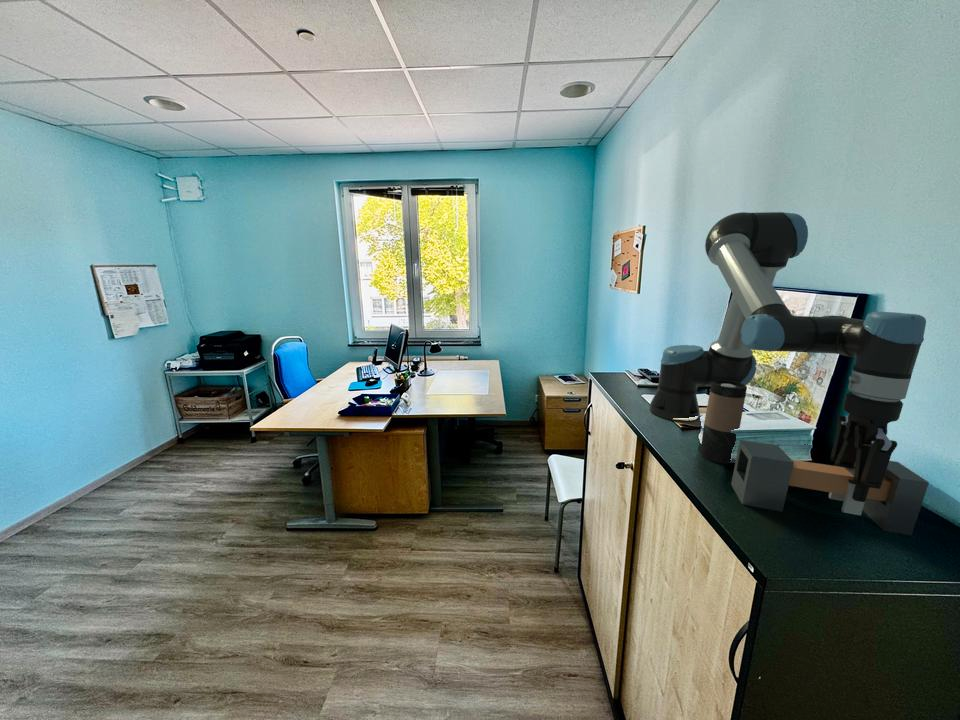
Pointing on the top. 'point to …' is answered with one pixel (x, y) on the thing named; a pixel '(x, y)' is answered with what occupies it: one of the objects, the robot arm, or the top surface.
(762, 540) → the top surface
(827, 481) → the orange bar
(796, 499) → the top surface
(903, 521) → the socket
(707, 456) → the travel mug
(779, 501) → the sleeve
